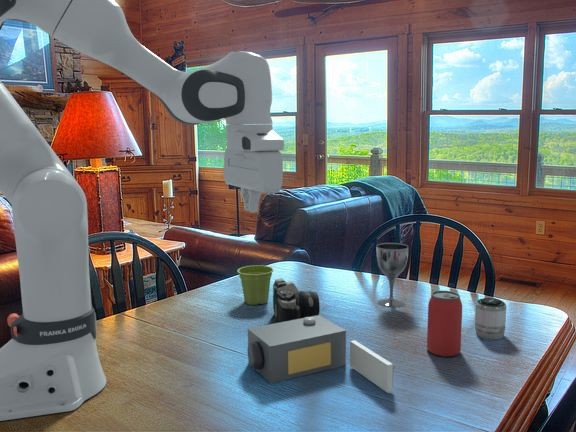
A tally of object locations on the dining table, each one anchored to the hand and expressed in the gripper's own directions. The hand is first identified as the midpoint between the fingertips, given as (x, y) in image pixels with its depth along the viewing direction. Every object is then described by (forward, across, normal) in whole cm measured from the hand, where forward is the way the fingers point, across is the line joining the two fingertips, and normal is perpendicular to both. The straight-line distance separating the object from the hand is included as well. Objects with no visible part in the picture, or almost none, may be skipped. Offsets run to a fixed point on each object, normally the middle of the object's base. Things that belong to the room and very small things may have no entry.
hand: (251, 211), depth 110 cm
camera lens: (+29, +16, +49) cm, 59 cm away
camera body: (+29, +9, +5) cm, 31 cm away
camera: (+30, -12, +16) cm, 35 cm away
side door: (+29, +22, +13) cm, 38 cm away
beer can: (+29, +18, +34) cm, 48 cm away
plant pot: (+29, -30, +14) cm, 44 cm away
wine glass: (+29, -12, +44) cm, 54 cm away
